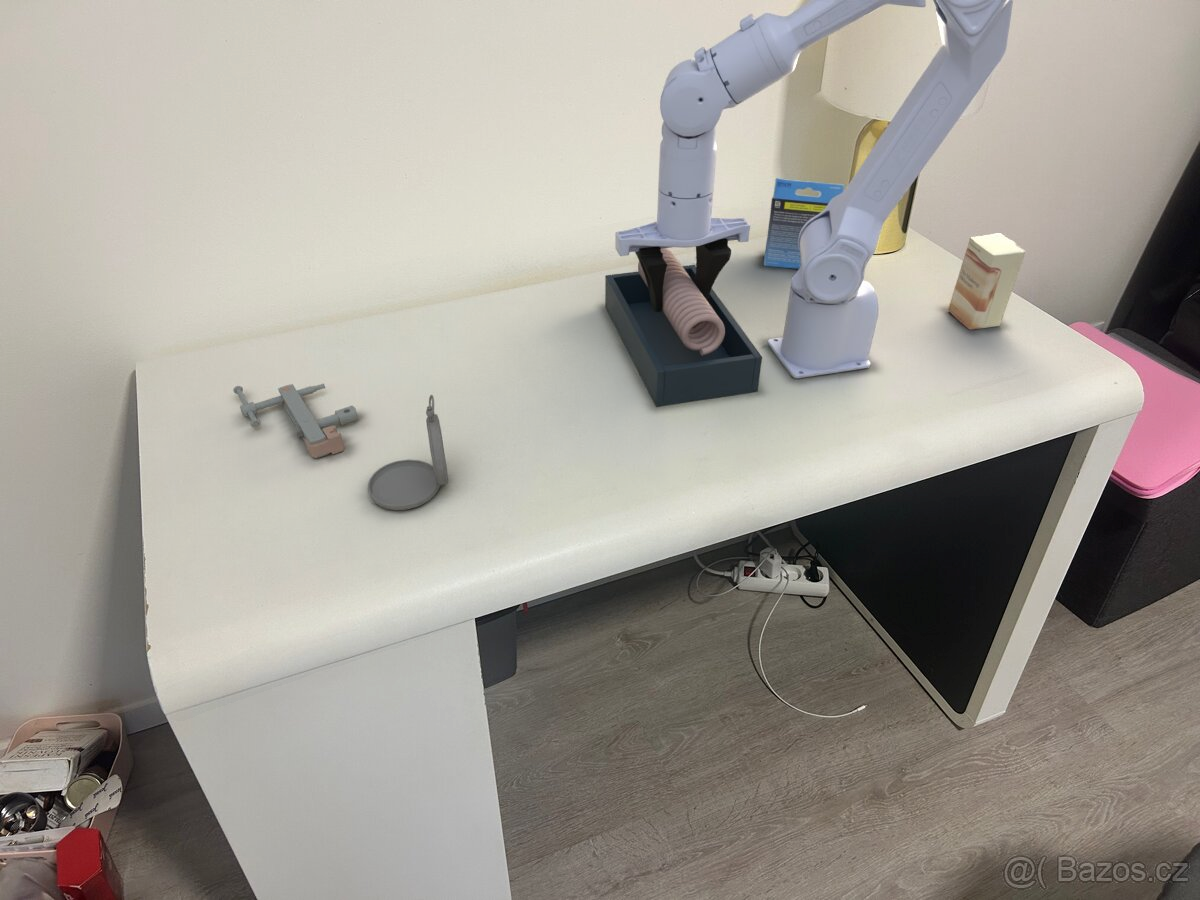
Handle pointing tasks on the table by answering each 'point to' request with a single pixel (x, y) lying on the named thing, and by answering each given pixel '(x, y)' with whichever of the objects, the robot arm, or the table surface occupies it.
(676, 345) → the bin
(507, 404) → the table surface
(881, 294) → the table surface
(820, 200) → the label tape box
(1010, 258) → the printed cream carton
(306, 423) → the clamp
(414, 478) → the pocket watch
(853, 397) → the table surface
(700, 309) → the coil
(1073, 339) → the table surface
